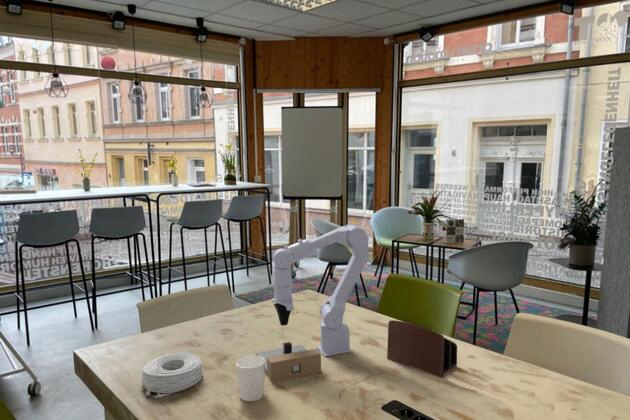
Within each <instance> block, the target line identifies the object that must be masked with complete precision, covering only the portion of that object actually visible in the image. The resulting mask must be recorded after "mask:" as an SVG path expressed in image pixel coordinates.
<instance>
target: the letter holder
mask: <svg viewBox="0 0 630 420" xmlns="http://www.w3.org/2000/svg"><path fill="white" fill-rule="evenodd" d="M387 327H388V328H387V351H386V358H387V359H388V360H390V361H393V362H395V363H399V364H402V365H405V366H408V367H411V368H413V369H416V370H419V371H421V372H424V373H426V374H430V375H432V376H435V377H438V378H441V379H443V378H444V377H445V376H447V375H449V373H451V372H452V371H453V370H455V368H457V365H458V345H457V343H455V342H454V341H452V340H450V339H448V338H446V337H444V336H443V334H442V333H439V332H437V331H434V330H433V329H429V328H427V327H424V326H421V325H418V324H414V323H411V322H406V321H403V320H402V321H401V320H391V319H390V320H389V321H388V323H387Z"/></svg>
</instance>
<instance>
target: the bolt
mask: <svg viewBox="0 0 630 420" xmlns="http://www.w3.org/2000/svg"><path fill="white" fill-rule="evenodd" d="M292 346H293V344H292V343H291V341H288V342H283V343H282V348H283V354H288V353H292ZM292 371H293V372H295V371H299V365H294V366H292Z"/></svg>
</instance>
